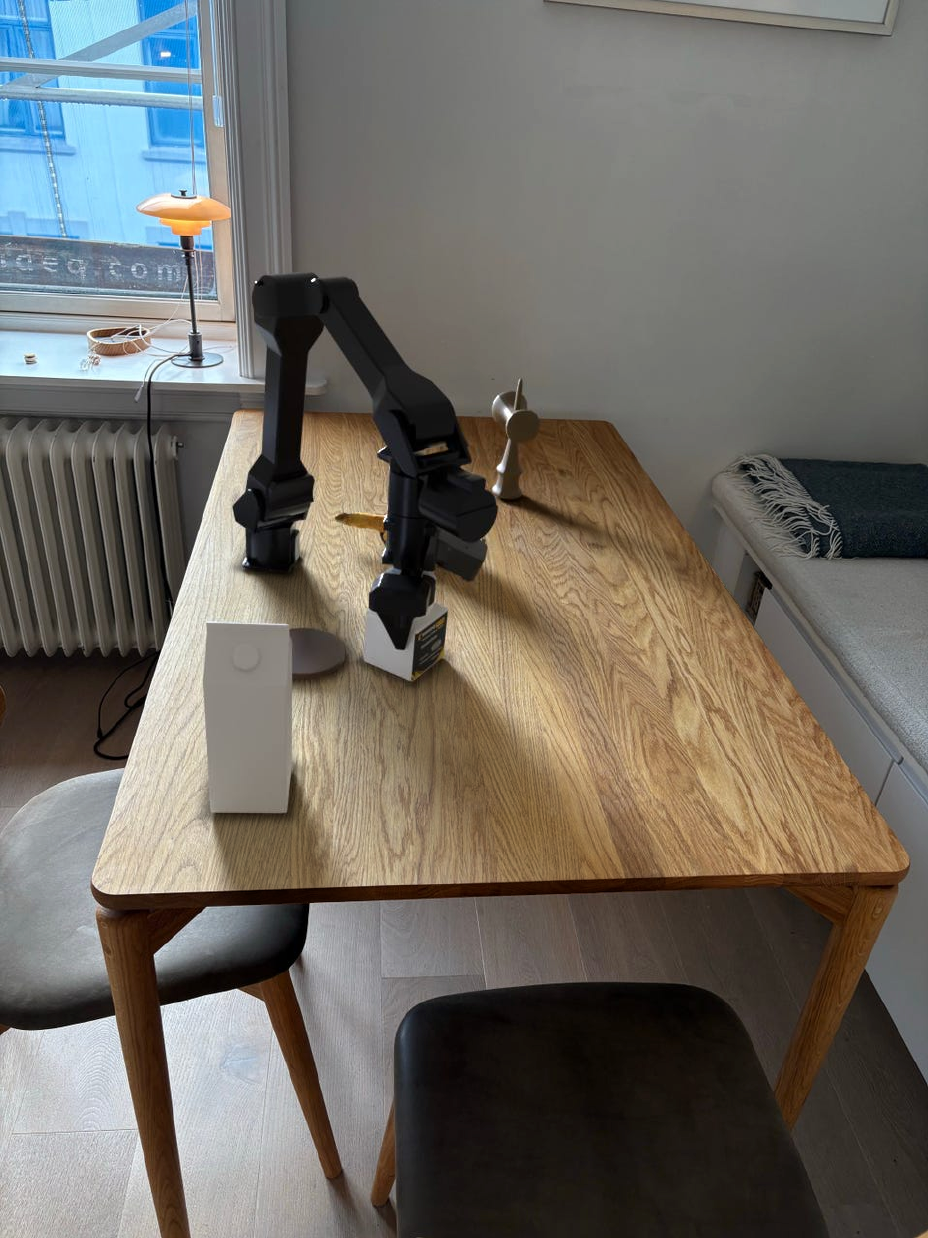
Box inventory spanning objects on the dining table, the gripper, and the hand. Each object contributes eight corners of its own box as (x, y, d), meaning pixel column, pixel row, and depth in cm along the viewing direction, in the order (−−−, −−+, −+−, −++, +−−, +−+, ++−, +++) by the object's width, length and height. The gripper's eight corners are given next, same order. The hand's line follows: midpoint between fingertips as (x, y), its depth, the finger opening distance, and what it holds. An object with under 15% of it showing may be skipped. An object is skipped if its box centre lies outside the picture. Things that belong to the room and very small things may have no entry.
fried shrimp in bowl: (470, 546, 132) (348, 499, 127) (441, 589, 140) (325, 547, 136) (478, 498, 137) (361, 452, 133) (449, 543, 146) (338, 501, 141)
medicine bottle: (411, 683, 110) (419, 594, 104) (362, 661, 113) (366, 573, 107) (444, 657, 116) (453, 570, 110) (396, 636, 119) (402, 551, 112)
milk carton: (220, 764, 95) (211, 601, 85) (292, 765, 96) (292, 604, 86) (210, 814, 89) (200, 644, 79) (287, 814, 90) (286, 646, 80)
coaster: (249, 673, 109) (249, 667, 109) (273, 628, 118) (273, 622, 117) (335, 684, 109) (335, 678, 108) (352, 638, 117) (353, 633, 117)
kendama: (516, 483, 164) (531, 369, 154) (531, 507, 156) (547, 388, 146) (482, 483, 163) (495, 368, 153) (495, 507, 155) (510, 387, 145)
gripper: (478, 553, 96) (466, 681, 104) (492, 484, 112) (481, 599, 120) (369, 540, 96) (365, 668, 104) (399, 473, 112) (394, 588, 120)
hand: (406, 629), depth 112 cm, fingers closed on medicine bottle, 9 cm apart
